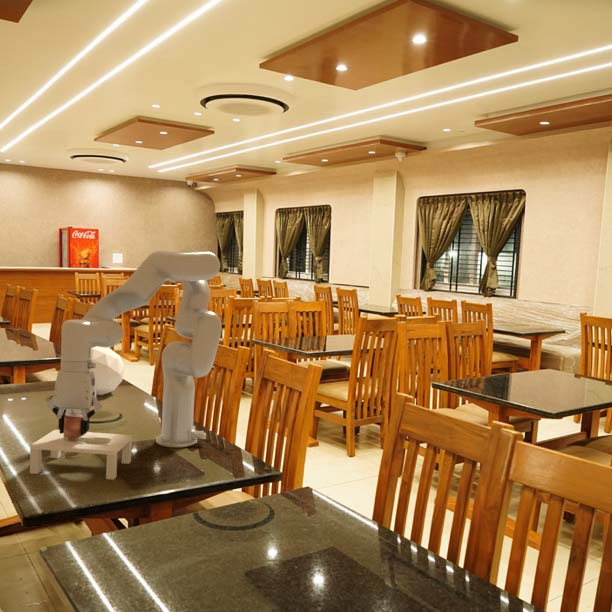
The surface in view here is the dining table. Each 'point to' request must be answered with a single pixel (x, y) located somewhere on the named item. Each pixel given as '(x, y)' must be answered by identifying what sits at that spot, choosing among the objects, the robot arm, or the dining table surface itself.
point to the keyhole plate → (83, 449)
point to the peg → (72, 432)
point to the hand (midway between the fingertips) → (73, 432)
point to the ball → (106, 369)
